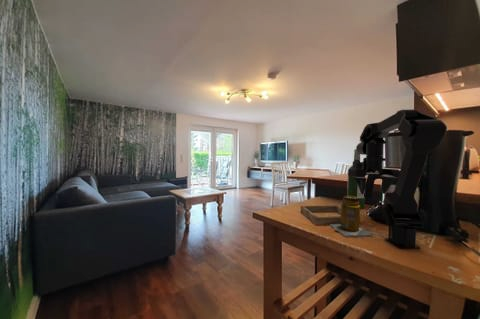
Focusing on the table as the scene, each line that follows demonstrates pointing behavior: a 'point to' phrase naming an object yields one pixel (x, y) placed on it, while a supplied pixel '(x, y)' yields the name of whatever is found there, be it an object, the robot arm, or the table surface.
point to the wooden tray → (317, 220)
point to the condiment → (350, 215)
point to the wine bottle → (355, 184)
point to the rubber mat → (361, 234)
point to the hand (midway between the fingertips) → (373, 193)
